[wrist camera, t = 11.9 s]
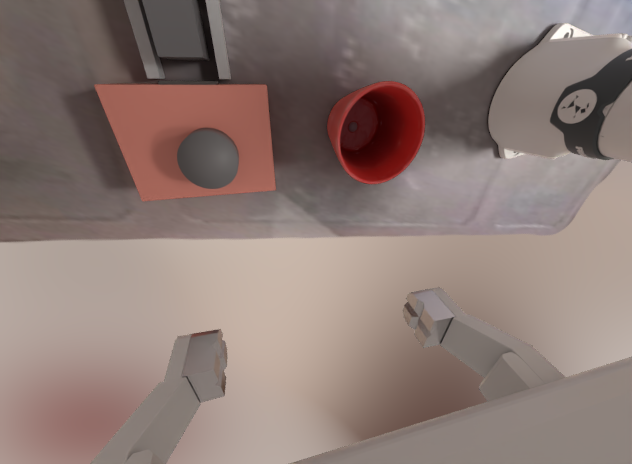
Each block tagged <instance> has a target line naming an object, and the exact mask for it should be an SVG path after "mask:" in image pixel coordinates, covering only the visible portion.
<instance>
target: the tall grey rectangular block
mask: <svg viewBox="0 0 632 464" xmlns="http://www.w3.org/2000/svg"><path fill="white" fill-rule="evenodd" d="M142 2H143V5H144V9H145V13H146V16H147V20H148V23H149V27H150V30H151V34H152V37H153V41H154V45H155V48H156V52H157V55H158V57H162V58H166V59H171V60H209V55H208V49H207V44H206V39H205V34H204V28H203V23H202V18H201V12H200V7H199V2H198V0H142Z"/></svg>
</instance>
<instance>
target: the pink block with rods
mask: <svg viewBox="0 0 632 464" xmlns="http://www.w3.org/2000/svg"><path fill="white" fill-rule="evenodd" d="M124 3H125V7H126V10H127V13H128V16H129V20H130V23H131V26H132V29H133V32H134V36H135V39H136V42H137V45H138V49H139V52H140V55H141V58H142V62H143V65H144V68H145V71H146V74H147V78H148V79H165V75H164V71H163V68H162V64H161V61H160V57H158V55H157V52H156V48H155V45H154V41H153V37H152V34H151V30H150V27H149V23H148V20H147V16H146V13H145V9H144V5H143V2H142V0H124ZM206 6H207V12H208V17H209V23H210V29H211V35H212V40H213V46H214V52H215V57H216V63H217V69H218V75H219V79H231V73H230V66H229V60H228V53H227V46H226V40H225V33H224V27H223V20H222V14H221V7H220V1H219V0H206ZM94 86H95V89H96V91H97V94H98V96H99V98H100V101H101V103H102V106H103V108H104V110H105V113H106V115H107V118H108V120H109V122H110V125H111V127H112V130H113V132H114V134H115V137H116V139H117V142H118V144H119V146H120V149H121V151H122V154H123V156H124V158H125V161H126V163H127V166H128V168H129V170H130V173H131V175H132V178H133V180H134V182H135V185H136V187H137V190H138V192H139V194H140V197H141V199H142V201H152V200H164V199H176V198H188V197H200V196H212V195H224V194H236V193H248V192H260V191H272V190H276V185H275V174H274V162H273V151H272V139H271V128H270V116H269V105H268V93H267V85H265V84H219V81H158V84H119V83H117V84H97V85H94Z"/></svg>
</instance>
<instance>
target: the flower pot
mask: <svg viewBox="0 0 632 464" xmlns="http://www.w3.org/2000/svg"><path fill="white" fill-rule="evenodd" d="M327 131H328V135H329V138H330V141H331V143H332V146H333V148H334V150H335V153H336V155H337V157H338V160H339V161H340V163H341V165H342V167H343V168H344V170H345V171H346V172H347V173H348V174H349V175H350V176H351V177H352V178H354V179H355V180H357V181H359V182H362V183H366V184H379V183H383V182H386V181H389V180H391V179H392V178H394V177H396V176H397V175H399V174H400V173H401V172H402V171H404V170H405V169H406V168H407V167H408V166H409V164H410V163H411V162H412V160H413V159H414V157H415V156H416V154H417V152H418V150H419V148H420V146H421V143H422V140H423V137H424V132H425V116H424V110H423V107H422V104H421V102H420V100H419V98H418V97H417V95H416V94H415V93H414V92H413V91H412V90H411V89H410V88H409V87H407V86H406V85H404V84H401V83H398V82H394V81H383V82H378V83H374V84H371V85H368V86H366V87H363V88H361V89H359V90H356V91H354V92H352V93H350V94H349V95H347V96H345V97H343V98H342V99H340V100H339V101H338V102H337V103H336V104H335V105H334V107H333V108H332V110H331V112H330V114H329V117H328V122H327Z"/></svg>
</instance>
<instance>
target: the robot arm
mask: <svg viewBox="0 0 632 464" xmlns="http://www.w3.org/2000/svg"><path fill="white" fill-rule="evenodd" d="M488 125H489V131H490V134H491V136H492V138H493V139H494V140H495V142H496V143H497V144H498V147H499V154H500V157H501V158H504V159H510V158H514V157H517V156H521V155H524V154H529V155H533V156H538V157H542V158H547V159H555V158H557V157H562V156H565V155H567V154H569V153H571V152H572V153H574V154H578V155H582V156H584V157H588V158H594V159H596V158H597V159H602V160H610V159H619V160H624V161H628V162H632V36H628V34H606V35H594V36H593V35H591V34H589V33H587V32H585V31H583V30H581V29H579V28H577V27H575V26H573V25H570V24H568V23H559V24H557V25H555V26H554V27H553V28H552V29H551V30H550V31H549V32H548V33H547V35H546V36H545V37H544V38H543V40H542V41H541V42H540V43H539V44H538V45H537V46H536V47H534V48H533V49H532V50H530V51H529V52H527V53H526V54H525V55H524V56H522V57H521V58H520V59H519V60H518V61H517V62H516V63H515V64H514V65H513V66H512V67H511V69H510V70H509V71H508V72H507V74H506V75H505V77H504V78H503V80H502V81H501V83H500V85H499V87H498V88H497V90H496V93H495V95H494V97H493V100H492V103H491V107H490V111H489V118H488ZM406 299H407V301H408V302H407V303H406V304H405V305H404V308H403V314H404V318H405V321H406V322H407V324H408V325H409V326H410V327H411V328H413V329H414V330H415V333H414V335H415V336H416V338H417V339H418V341H419V342H420V344H421V345H422V347H423V348H425V347H429V346H435V345H439V344H441V346H442V347H443V348H445V349H446V350H447V351H449V352H450V353H451V354H453V355H454V356H455V357H457V358H458V359H459V360H461V361H462V362H464V363H465V364H466V365H468V366H469V367H470V368H472V369H473V370H475V371H476V372H477V373H479V374H480V375H481V376H483V377H484V380H483V381H482V383H481V384H480V385H479V390H480V391H481V393H482V394H483V395H484V397H485V398H486V400H487V401H488V402H485V403H483V404H479V405H476V406H473V407H469V408H466V409H463V410H460V411H456V412H453V413H450V414H447V415H444V416H440V417H437V418H434V419H431V420H428V421H425V422H421V423H418V424H415V425H412V426H408V427H405V428H402V429H399V430H396V431H392V432H389V433H386V434H383V435H380V436H377V437H374V438H370V439H367V440H364V441H360V442H358V443H354V444H351V445H348V446H344V447H341V448H338V449H335V450H332V451H328V452H325V453H322V454H319V455H316V456H313V457H310V458H307V459H303V460H300V461H297V462H293V463H290V464H632V357H629V358H627V359H623V360H620V361H617V362H614V363H610V364H607V365H604V366H601V367H598V368H594V369H591V370H588V371H585V372H581V373H579V374H575V375H572V376H569V377H565V376H564V375H563V374H562V373H561V372H559V371H558V370H557V369H556V368H555V367H554V366H553V365H552V364H551V363H550V362H549V361H548V360H547V359H546V358H545V357H543V356H542V355H541V354H540V353H539V352H538V351H537V350H536V349H535V348H534V347H533V346H532V345H530V344H528V343H526V342H524V341H522V340H520V339H518V338H516V337H514V336H512V335H510V334H508V333H506V332H504V331H502V330H500V329H498V328H496V327H494V326H492V325H490V324H488V323H486V322H484V321H482V320H480V319H478V318H476V317H474V316H472V315H470V314H468V315H466V314H465V312H463V310H462V309H461V308H460V307H459V306H458V305H457V304H456V303H455V302H454V301H453V300H452V299H451V297H450V296H449V295H448V294H447V293H446V292H445V291H444V290H443V289H442V288H440V287H438V288H432V289H426V290H421V291H416V292H411V293H409V294H408V295H407V298H406ZM222 337H223V334H222V331H221V329H219V330H213V331H207V332H201V333H194V334H189V335H183V336H178V337H177V339H176V340H175V343H174V347H173V350H172V354H171V358H170V362H169V365H168V369H167V372H166V376H165V379H164V382H160V383H159V384H158V385H157V386H156V387H155V388H154V389H153V391H152V392H151V393H150V394H149V395H148V397H147V398H146V399H145V400H144V401H143V403H141V405H140V406H139V407H138V408H137V409H136V411H135V412H134V413H133V414H132V415H131V416H130V418H129V419H128V420H127V421H126V422H125V424H124V425H123V426H122V427H121V428H120V429H119V430H118V432H117V433H116V434H115V435H114V436H113V438H112V439H111V440H110V441H109V442H108V443H107V445H106V446H105V447H104V448H103V449H102V450H101V452H100V453H99V454H98V455H97V456H96V457H95V459H94V460H93V461H92V462H91V464H166V463H167V461H168V459H169V457H170V456H171V454H172V452H173V451H174V449H175V447H176V446H177V444H178V442H179V440H180V439H181V437H182V435H183V434H184V432H185V430H186V428H187V426H188V425H189V423H190V421H191V420H192V418H193V416H194V414H195V413H196V411H197V410H198V408H199V406H200V403H201V402H205V401H208V400H212V399H216V398H220V397H223V396H224V395H225V385H226V376H225V373H224V369H225V368H226V367H227V347H226V343H225V341H223V340H222Z"/></svg>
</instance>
